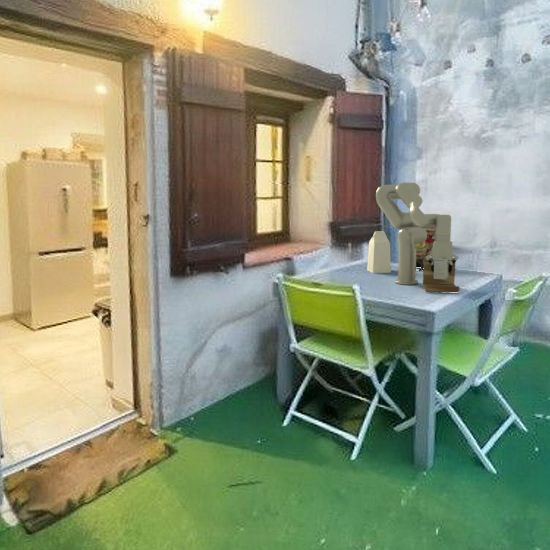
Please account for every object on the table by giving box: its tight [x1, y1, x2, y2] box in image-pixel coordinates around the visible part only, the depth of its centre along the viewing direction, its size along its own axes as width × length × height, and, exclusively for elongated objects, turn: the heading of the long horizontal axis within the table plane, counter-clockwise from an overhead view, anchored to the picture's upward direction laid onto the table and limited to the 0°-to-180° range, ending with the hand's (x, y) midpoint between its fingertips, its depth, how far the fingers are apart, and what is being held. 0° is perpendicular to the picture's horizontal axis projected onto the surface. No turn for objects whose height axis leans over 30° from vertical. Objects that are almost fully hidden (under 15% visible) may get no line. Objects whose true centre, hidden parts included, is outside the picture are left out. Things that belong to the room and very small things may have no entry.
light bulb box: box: [434, 258, 449, 279], centre depth 244 cm, size 11×7×11 cm, turn 155°
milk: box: [366, 230, 392, 274], centre depth 302 cm, size 12×12×26 cm
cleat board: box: [422, 257, 460, 293], centre depth 245 cm, size 16×16×16 cm
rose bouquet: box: [414, 228, 435, 270], centre depth 309 cm, size 26×29×30 cm
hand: (441, 272), depth 244 cm, fingers closed on light bulb box, 7 cm apart
